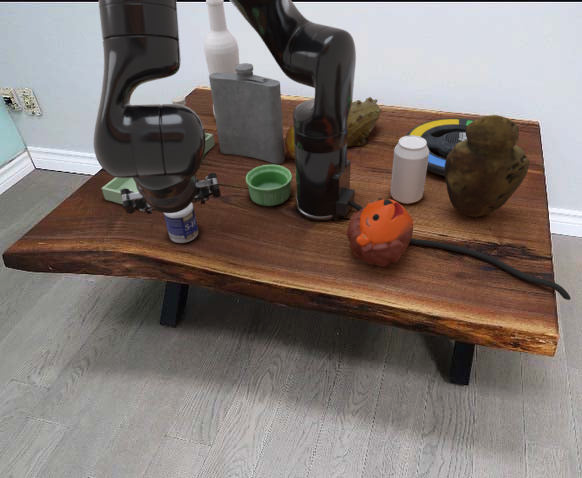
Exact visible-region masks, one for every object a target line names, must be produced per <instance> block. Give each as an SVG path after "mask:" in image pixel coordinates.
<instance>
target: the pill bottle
mask: <svg viewBox="0 0 582 478" xmlns="http://www.w3.org/2000/svg"><path fill="white" fill-rule="evenodd" d="M163 217H164V221H165V225H166V229H167V233H168V237H169V239H170V240H171V241H172V242H173V243H177V244H185V243H189V242H191V241H193V240H194V239H196V238H197V236H198V235H199V228H198V222H197V218H196V213H195V208H194V203H190V205H189V206H188V207H186V208H185V209H183V210H181V211H179V212H176V213H163Z"/></svg>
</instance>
